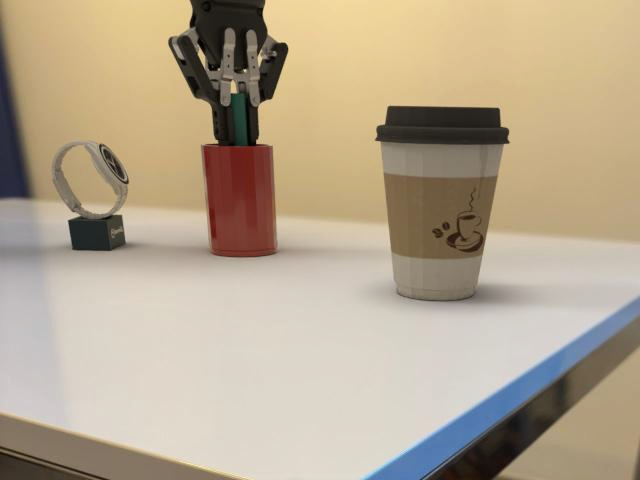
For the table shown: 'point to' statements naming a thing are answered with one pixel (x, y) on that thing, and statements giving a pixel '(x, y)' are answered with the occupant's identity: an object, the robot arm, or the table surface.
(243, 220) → the can
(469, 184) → the coffee cup
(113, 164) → the watch
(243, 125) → the straw
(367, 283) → the table surface
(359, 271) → the table surface
